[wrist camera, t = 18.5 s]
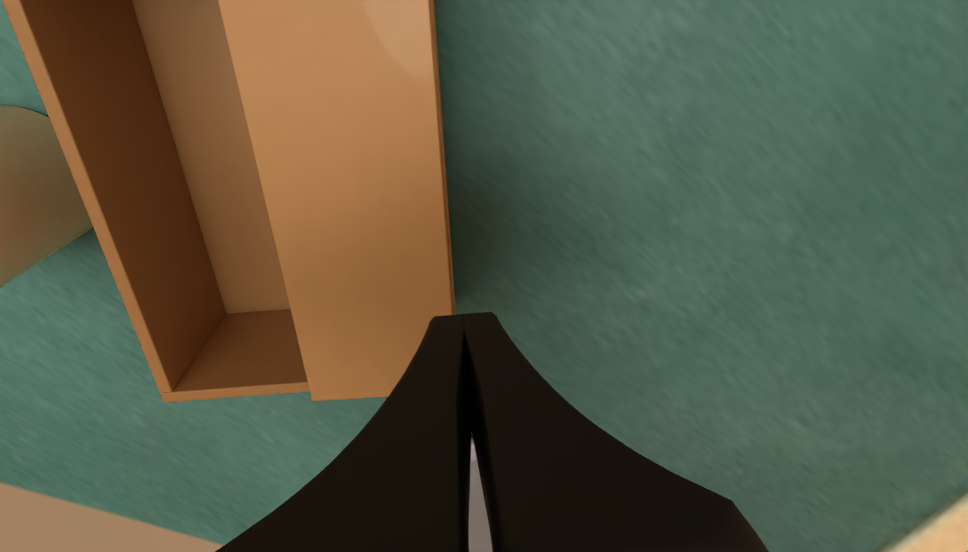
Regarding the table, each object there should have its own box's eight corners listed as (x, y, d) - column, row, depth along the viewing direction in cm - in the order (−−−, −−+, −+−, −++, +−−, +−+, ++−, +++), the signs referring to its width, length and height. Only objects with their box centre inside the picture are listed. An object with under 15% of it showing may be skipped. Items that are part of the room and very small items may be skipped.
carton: (431, -46, 17) (428, -66, 12) (455, 301, 23) (459, 380, 18) (114, -35, 16) (-20, -51, 12) (222, 317, 22) (163, 402, 17)
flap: (425, -65, 12) (424, -67, 11) (457, 387, 18) (457, 393, 17) (209, -58, 12) (203, -59, 11) (314, 395, 17) (312, 401, 17)
